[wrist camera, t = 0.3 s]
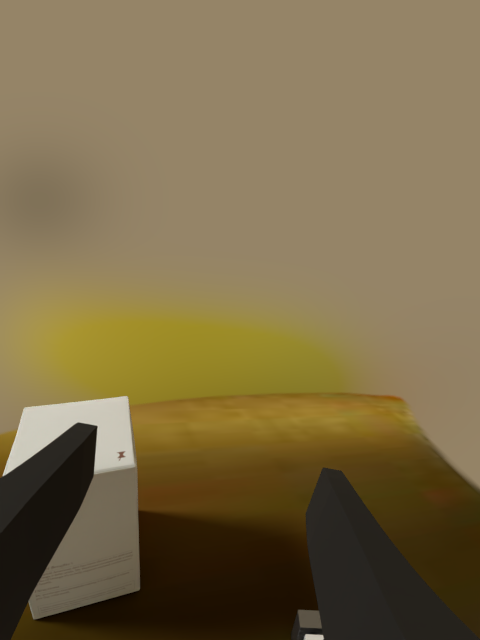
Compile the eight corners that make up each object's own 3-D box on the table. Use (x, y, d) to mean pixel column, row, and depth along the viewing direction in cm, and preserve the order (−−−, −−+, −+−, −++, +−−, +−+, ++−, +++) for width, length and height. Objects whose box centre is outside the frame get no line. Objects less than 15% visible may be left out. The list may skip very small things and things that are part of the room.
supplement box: (135, 507, 34) (132, 393, 28) (141, 594, 27) (139, 466, 22) (44, 525, 31) (23, 403, 26) (27, 624, 25) (-5, 489, 20)
